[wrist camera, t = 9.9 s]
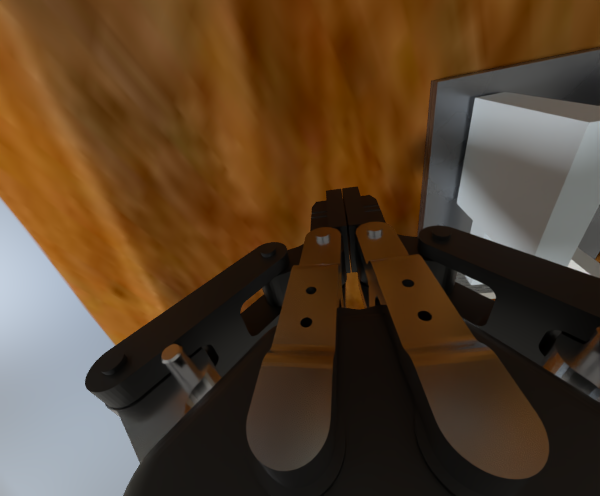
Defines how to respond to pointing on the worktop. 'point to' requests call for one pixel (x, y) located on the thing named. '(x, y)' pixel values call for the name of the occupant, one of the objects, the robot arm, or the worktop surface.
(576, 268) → the bar
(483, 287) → the stand
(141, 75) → the worktop surface
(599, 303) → the robot arm
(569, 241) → the block
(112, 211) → the worktop surface
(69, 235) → the worktop surface
